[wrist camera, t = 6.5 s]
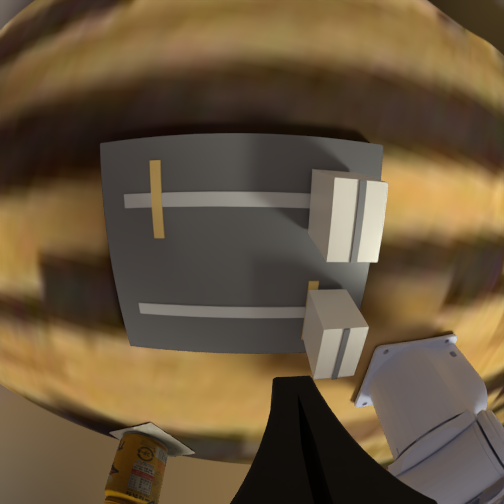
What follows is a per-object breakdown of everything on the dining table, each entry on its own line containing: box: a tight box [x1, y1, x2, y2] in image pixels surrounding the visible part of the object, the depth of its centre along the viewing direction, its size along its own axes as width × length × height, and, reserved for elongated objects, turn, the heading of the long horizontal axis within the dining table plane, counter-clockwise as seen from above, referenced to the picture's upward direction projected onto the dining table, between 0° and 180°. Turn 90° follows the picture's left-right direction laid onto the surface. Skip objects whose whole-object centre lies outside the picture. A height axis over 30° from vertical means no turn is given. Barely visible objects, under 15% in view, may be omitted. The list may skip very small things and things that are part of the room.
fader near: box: [308, 169, 388, 263], centre depth 13 cm, size 2×4×4 cm
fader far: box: [302, 289, 369, 379], centre depth 15 cm, size 2×4×4 cm
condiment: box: [104, 423, 195, 504], centre depth 21 cm, size 7×8×12 cm
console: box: [100, 133, 383, 354], centre depth 17 cm, size 16×14×2 cm
